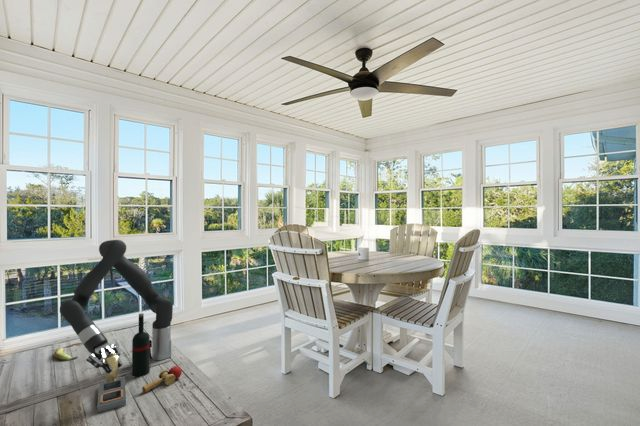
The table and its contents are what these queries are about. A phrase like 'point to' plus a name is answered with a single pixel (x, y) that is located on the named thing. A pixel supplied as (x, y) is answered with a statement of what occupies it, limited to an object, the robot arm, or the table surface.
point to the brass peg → (113, 363)
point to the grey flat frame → (111, 395)
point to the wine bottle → (141, 351)
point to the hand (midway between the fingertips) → (115, 369)
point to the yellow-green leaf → (63, 356)
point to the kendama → (164, 378)
